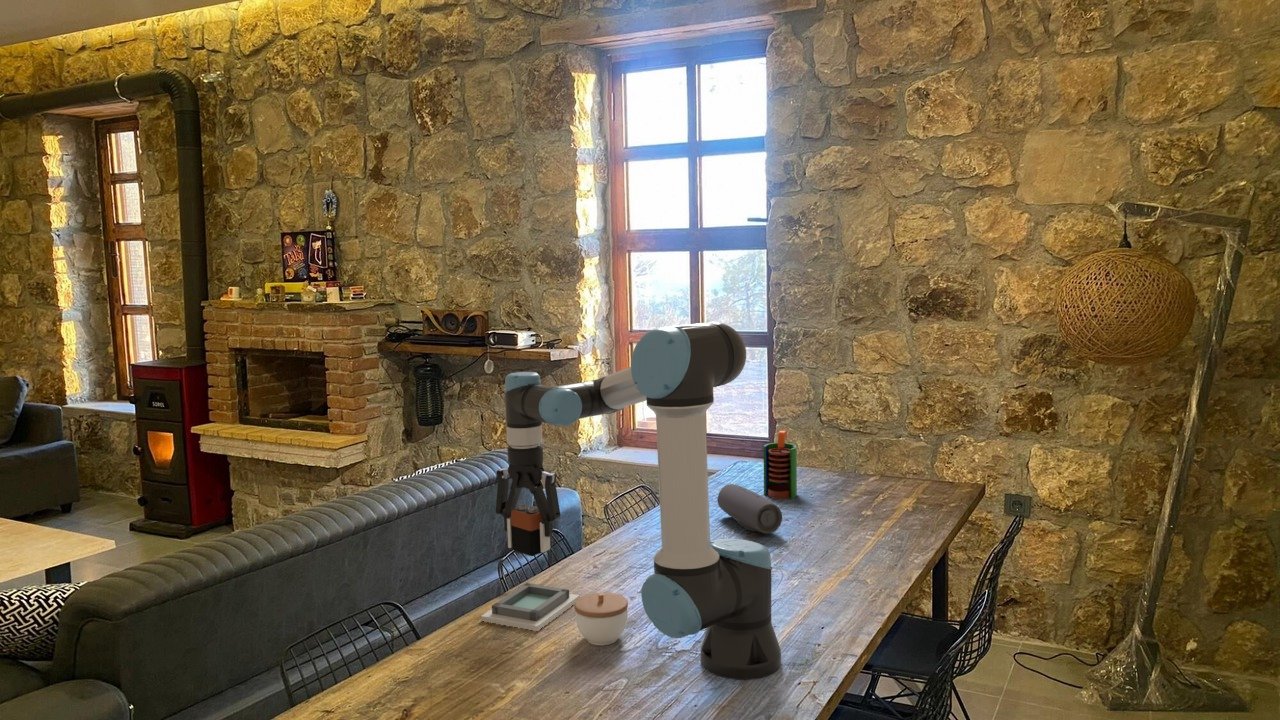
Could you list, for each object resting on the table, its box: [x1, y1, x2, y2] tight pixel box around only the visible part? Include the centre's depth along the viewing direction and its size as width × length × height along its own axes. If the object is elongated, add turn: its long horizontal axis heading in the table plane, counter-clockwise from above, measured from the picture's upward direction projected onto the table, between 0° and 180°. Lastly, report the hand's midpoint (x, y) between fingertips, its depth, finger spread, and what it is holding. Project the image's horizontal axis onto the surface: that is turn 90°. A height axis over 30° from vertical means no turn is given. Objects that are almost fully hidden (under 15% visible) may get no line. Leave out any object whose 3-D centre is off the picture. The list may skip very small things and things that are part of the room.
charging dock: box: [480, 582, 580, 632], centre depth 199 cm, size 18×14×3 cm
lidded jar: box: [573, 592, 629, 647], centre depth 184 cm, size 11×11×9 cm
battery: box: [511, 504, 543, 557], centre depth 197 cm, size 4×7×10 cm, turn 47°
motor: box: [763, 430, 798, 500], centre depth 285 cm, size 10×9×20 cm
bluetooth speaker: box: [717, 483, 783, 534], centre depth 255 cm, size 23×9×10 cm, turn 22°
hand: (529, 548), depth 198 cm, fingers closed on battery, 7 cm apart
